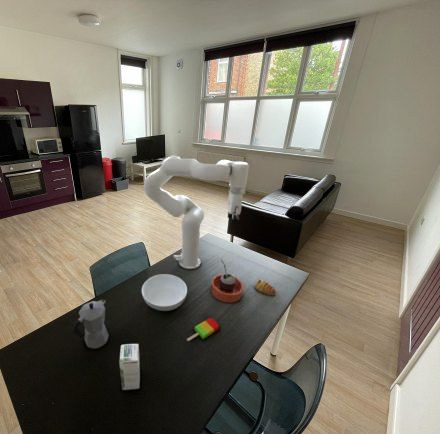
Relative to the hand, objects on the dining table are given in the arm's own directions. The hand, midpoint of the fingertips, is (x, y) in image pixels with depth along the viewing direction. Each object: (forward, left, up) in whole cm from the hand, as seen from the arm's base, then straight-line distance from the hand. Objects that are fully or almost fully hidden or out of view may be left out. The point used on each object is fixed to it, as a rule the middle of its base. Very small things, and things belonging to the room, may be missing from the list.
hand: (232, 221), depth 119 cm
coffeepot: (-59, -47, -30) cm, 81 cm away
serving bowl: (-33, -24, -30) cm, 51 cm away
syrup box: (-42, -61, -30) cm, 80 cm away
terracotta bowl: (-3, -17, -30) cm, 35 cm away
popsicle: (-17, -41, -30) cm, 54 cm away
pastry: (+16, -14, -30) cm, 37 cm away
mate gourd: (-3, -16, -30) cm, 34 cm away
